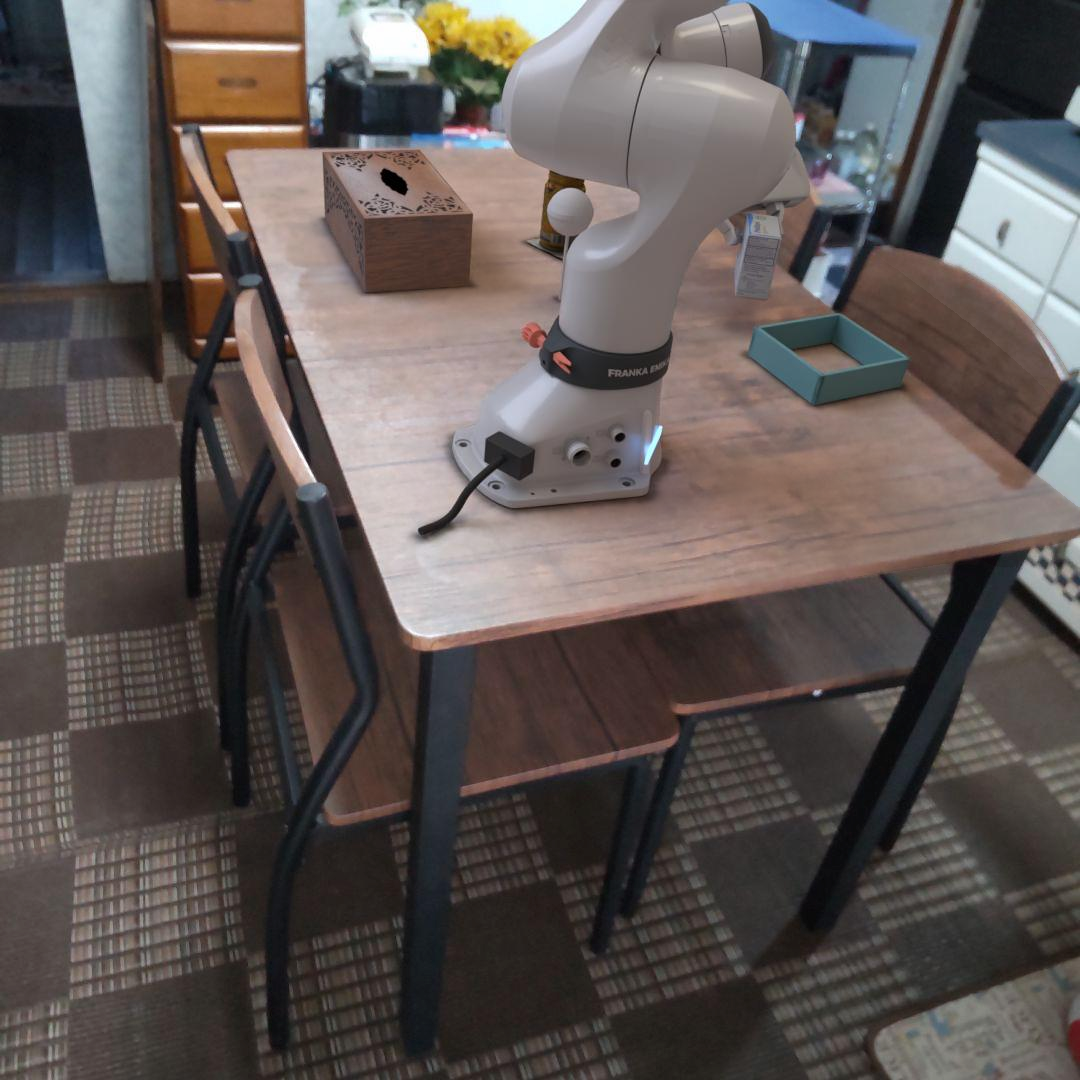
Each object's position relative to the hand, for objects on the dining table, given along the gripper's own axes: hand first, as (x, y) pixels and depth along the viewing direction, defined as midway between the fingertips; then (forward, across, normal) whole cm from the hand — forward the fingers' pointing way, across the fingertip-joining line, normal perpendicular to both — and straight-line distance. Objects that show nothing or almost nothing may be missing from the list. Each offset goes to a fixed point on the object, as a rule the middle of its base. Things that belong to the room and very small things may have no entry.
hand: (756, 241), depth 132 cm
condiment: (-11, -14, +26) cm, 31 cm away
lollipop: (0, -23, +14) cm, 27 cm away
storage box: (+20, 0, -6) cm, 20 cm away
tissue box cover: (-15, -39, +29) cm, 51 cm away
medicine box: (+6, -1, +2) cm, 6 cm away
